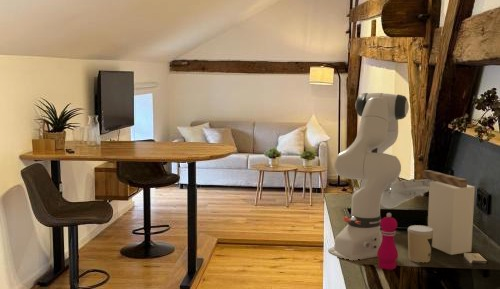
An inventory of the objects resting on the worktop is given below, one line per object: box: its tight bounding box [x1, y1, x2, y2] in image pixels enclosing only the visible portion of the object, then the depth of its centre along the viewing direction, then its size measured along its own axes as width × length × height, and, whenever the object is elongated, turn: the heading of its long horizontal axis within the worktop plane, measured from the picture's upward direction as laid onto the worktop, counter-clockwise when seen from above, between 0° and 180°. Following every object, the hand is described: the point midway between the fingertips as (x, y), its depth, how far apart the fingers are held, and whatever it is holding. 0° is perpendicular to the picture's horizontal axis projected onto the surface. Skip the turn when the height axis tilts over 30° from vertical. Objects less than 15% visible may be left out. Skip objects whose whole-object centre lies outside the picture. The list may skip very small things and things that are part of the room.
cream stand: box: [427, 180, 476, 256], centre depth 219 cm, size 14×10×26 cm
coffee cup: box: [407, 224, 434, 264], centre depth 207 cm, size 9×9×12 cm
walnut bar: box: [422, 169, 468, 188], centre depth 221 cm, size 22×3×3 cm, turn 22°
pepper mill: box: [377, 212, 399, 270], centre depth 198 cm, size 7×7×20 cm
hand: (422, 180), depth 234 cm, fingers open, 8 cm apart
